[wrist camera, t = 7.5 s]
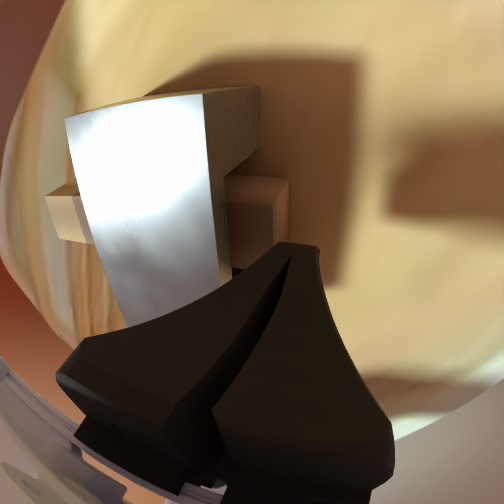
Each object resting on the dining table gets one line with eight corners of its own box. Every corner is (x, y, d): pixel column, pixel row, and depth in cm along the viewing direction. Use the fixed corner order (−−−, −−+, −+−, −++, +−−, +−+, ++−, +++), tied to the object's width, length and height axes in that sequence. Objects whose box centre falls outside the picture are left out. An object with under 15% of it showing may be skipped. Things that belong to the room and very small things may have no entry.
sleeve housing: (262, 293, 17) (231, 361, 13) (172, 275, 19) (128, 329, 15) (258, 85, 11) (202, 93, 7) (141, 97, 12) (64, 118, 8)
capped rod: (289, 236, 14) (274, 273, 12) (88, 216, 18) (59, 238, 16) (289, 178, 13) (272, 205, 10) (77, 177, 17) (44, 196, 14)
